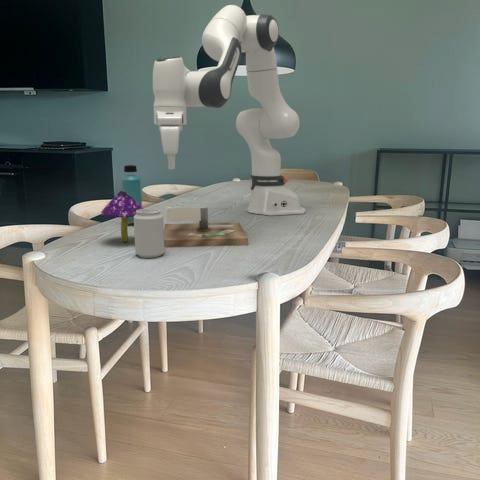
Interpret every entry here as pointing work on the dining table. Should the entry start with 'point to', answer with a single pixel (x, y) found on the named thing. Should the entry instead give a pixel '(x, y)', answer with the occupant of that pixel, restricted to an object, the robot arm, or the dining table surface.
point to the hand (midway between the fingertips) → (171, 169)
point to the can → (149, 233)
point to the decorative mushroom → (122, 210)
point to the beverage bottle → (132, 186)
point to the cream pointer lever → (192, 216)
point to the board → (203, 235)
